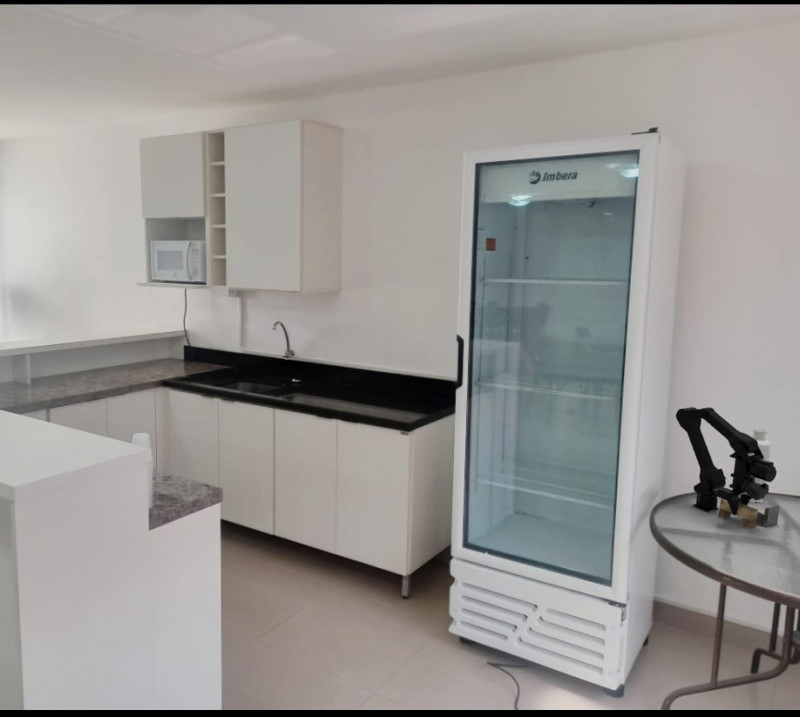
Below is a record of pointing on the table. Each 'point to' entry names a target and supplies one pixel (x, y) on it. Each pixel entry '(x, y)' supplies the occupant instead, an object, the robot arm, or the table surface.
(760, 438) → the bottle
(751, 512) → the rail
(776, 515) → the bracket
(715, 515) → the table surface
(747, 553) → the table surface
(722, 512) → the pair of brown blocks
